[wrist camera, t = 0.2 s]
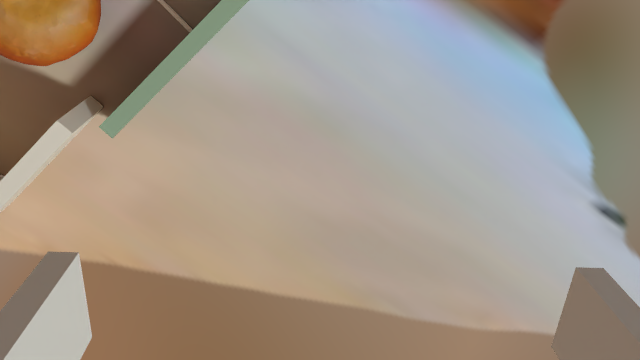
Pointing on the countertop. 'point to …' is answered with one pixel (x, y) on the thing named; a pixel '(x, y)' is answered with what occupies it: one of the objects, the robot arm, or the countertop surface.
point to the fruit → (46, 29)
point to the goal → (46, 150)
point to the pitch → (172, 62)
